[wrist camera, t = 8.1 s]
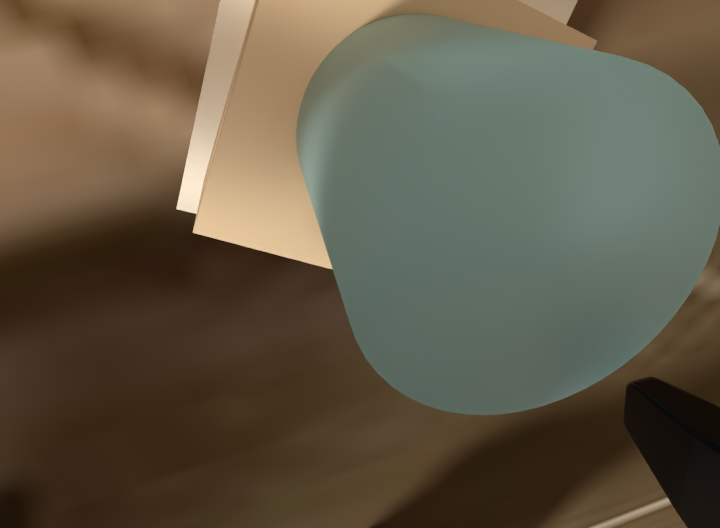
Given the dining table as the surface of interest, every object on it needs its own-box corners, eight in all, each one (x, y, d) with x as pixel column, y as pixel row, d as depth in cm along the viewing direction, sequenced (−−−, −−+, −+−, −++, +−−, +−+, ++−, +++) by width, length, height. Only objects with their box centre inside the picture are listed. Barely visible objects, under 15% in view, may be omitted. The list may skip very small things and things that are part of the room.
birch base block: (417, 224, 21) (449, 273, 18) (190, 165, 19) (176, 209, 15) (517, -11, 18) (580, -7, 14) (252, -129, 15) (253, -158, 12)
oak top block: (419, 243, 17) (455, 301, 14) (203, 179, 15) (192, 232, 12) (525, 25, 15) (597, 40, 12) (280, -94, 12) (292, -115, 9)
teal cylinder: (461, 255, 14) (597, 429, 8) (270, 212, 12) (295, 394, 7) (551, 58, 12) (802, 128, 6) (336, -25, 10) (441, -21, 5)
